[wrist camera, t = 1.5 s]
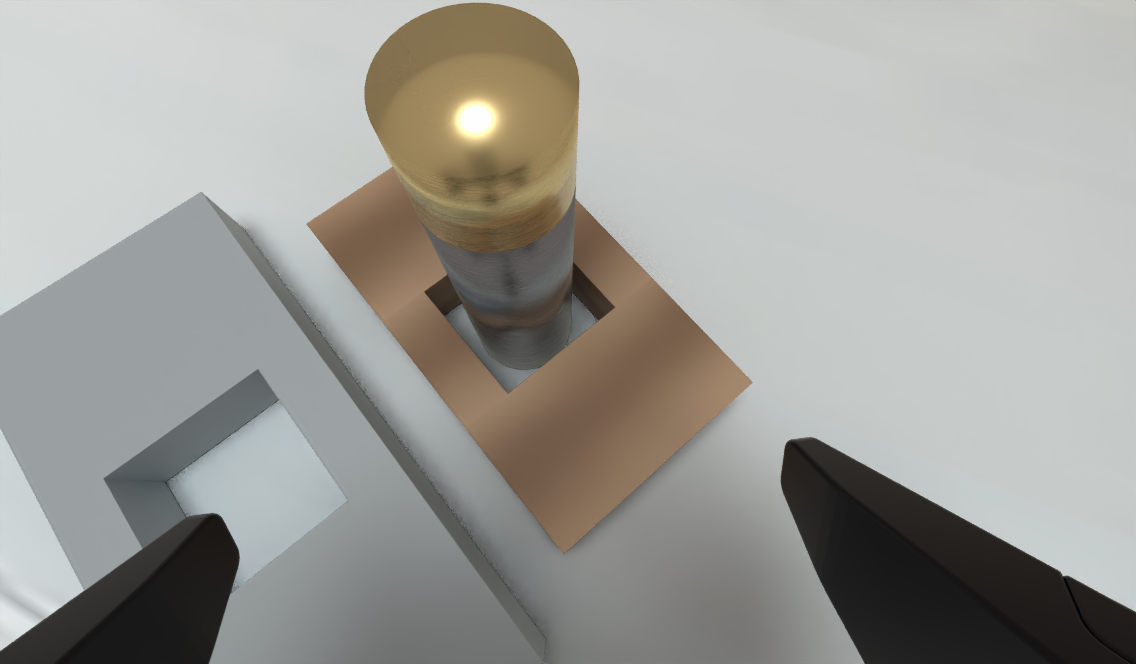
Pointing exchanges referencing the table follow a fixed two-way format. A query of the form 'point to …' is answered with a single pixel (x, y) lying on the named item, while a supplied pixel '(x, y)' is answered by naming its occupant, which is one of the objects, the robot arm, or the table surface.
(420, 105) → the gold capped metal post
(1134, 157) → the table surface
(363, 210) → the socket block
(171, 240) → the board
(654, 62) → the table surface
